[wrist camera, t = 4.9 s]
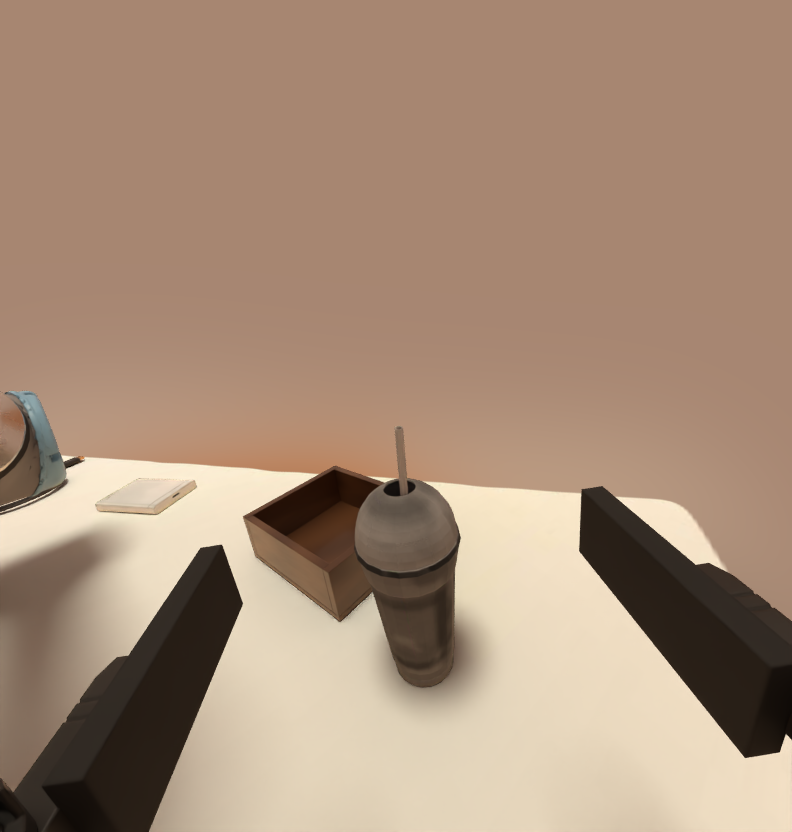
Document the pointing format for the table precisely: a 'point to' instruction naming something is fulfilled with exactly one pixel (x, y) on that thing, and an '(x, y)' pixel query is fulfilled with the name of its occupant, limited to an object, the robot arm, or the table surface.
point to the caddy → (316, 538)
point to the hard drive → (146, 496)
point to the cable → (14, 504)
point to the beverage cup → (411, 571)
